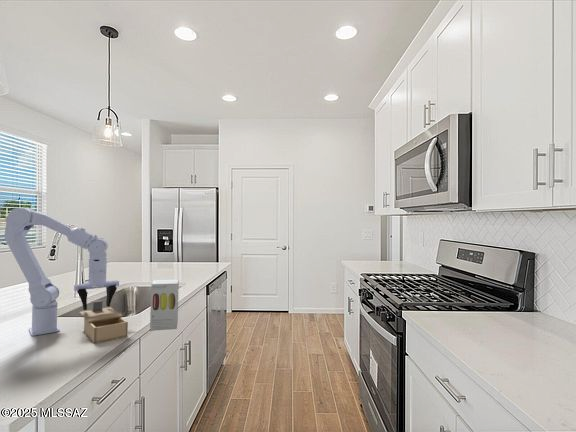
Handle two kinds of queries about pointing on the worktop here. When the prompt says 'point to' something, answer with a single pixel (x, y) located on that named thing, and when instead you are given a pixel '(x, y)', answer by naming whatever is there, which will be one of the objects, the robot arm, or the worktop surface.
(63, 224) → the robot arm
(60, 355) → the worktop surface
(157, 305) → the supplement box
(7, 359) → the worktop surface
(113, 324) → the carton
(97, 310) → the carton lid
